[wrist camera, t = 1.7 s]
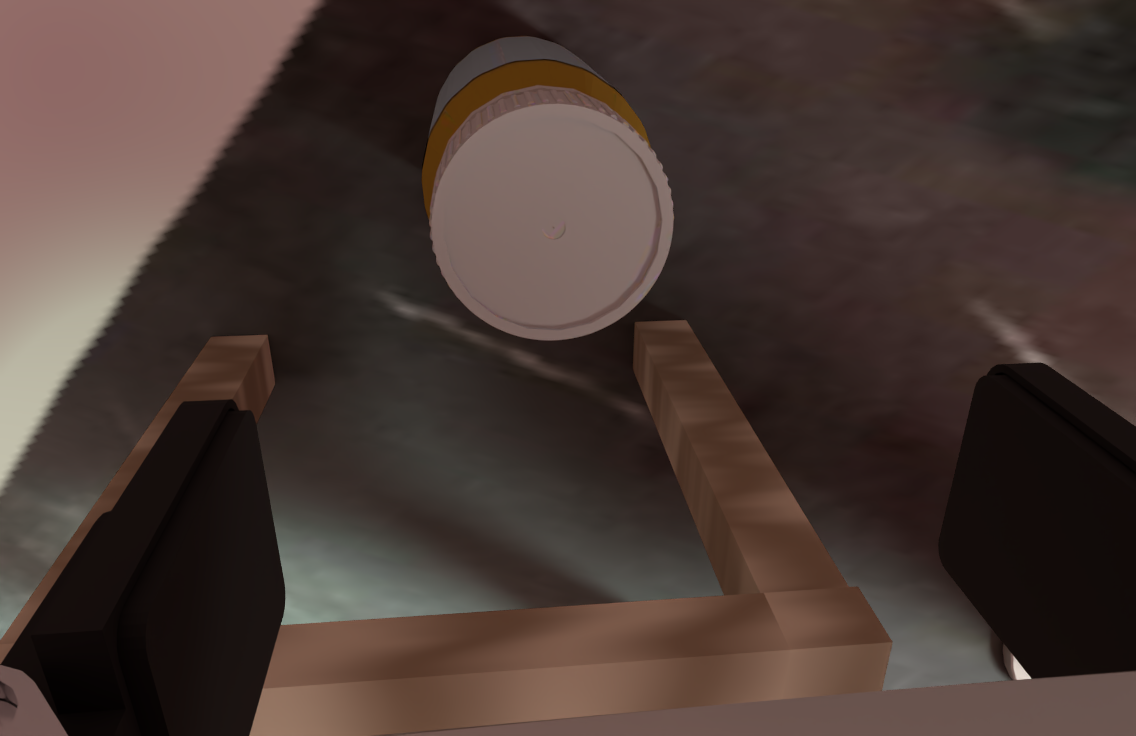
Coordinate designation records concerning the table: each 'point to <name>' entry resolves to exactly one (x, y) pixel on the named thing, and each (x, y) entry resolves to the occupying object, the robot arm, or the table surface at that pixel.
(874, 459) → the table surface
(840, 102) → the table surface
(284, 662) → the trapdoor frame
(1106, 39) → the table surface
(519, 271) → the bottle
